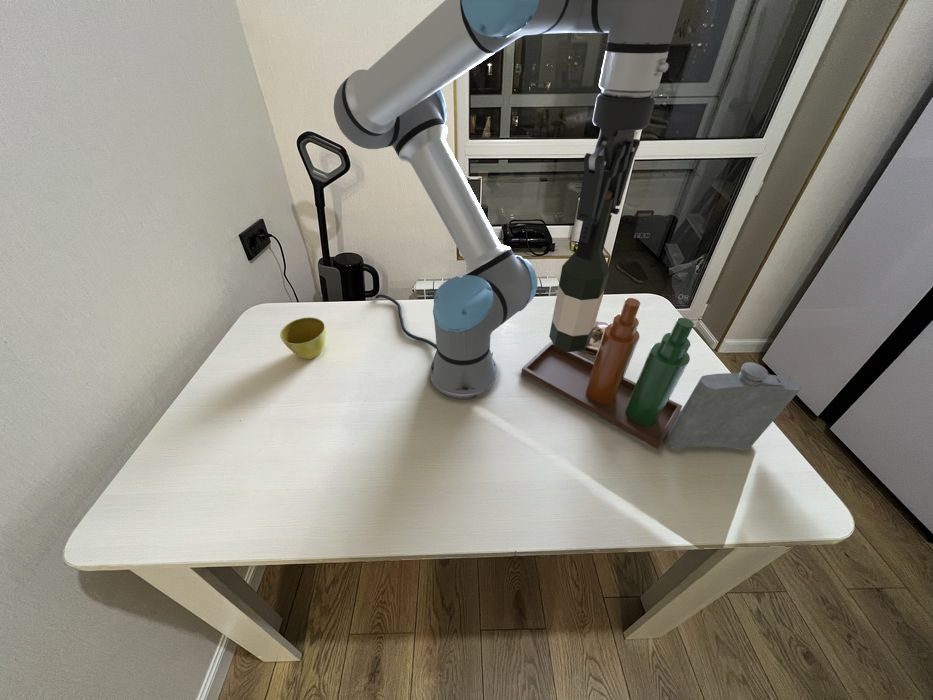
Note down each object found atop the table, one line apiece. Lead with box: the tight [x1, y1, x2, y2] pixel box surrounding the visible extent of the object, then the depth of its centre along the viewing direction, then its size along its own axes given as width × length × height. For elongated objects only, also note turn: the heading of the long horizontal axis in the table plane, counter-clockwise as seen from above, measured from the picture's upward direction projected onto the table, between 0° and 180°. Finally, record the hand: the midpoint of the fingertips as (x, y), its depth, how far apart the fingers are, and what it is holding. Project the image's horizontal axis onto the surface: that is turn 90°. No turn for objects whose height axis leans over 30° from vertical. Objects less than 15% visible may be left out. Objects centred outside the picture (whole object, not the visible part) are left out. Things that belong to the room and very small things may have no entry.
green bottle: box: [625, 317, 695, 426], centre depth 70 cm, size 6×6×24 cm
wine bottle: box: [548, 190, 614, 353], centre depth 69 cm, size 8×8×30 cm
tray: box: [520, 341, 683, 450], centre depth 83 cm, size 32×13×2 cm, turn 49°
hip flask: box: [665, 361, 802, 451], centre depth 67 cm, size 16×4×20 cm, turn 88°
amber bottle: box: [586, 297, 641, 404], centre depth 75 cm, size 6×6×24 cm
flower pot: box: [279, 316, 326, 360], centre depth 92 cm, size 10×10×7 cm
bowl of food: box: [583, 320, 609, 356], centre depth 95 cm, size 15×15×4 cm
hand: (589, 253), depth 66 cm, fingers closed on wine bottle, 3 cm apart
